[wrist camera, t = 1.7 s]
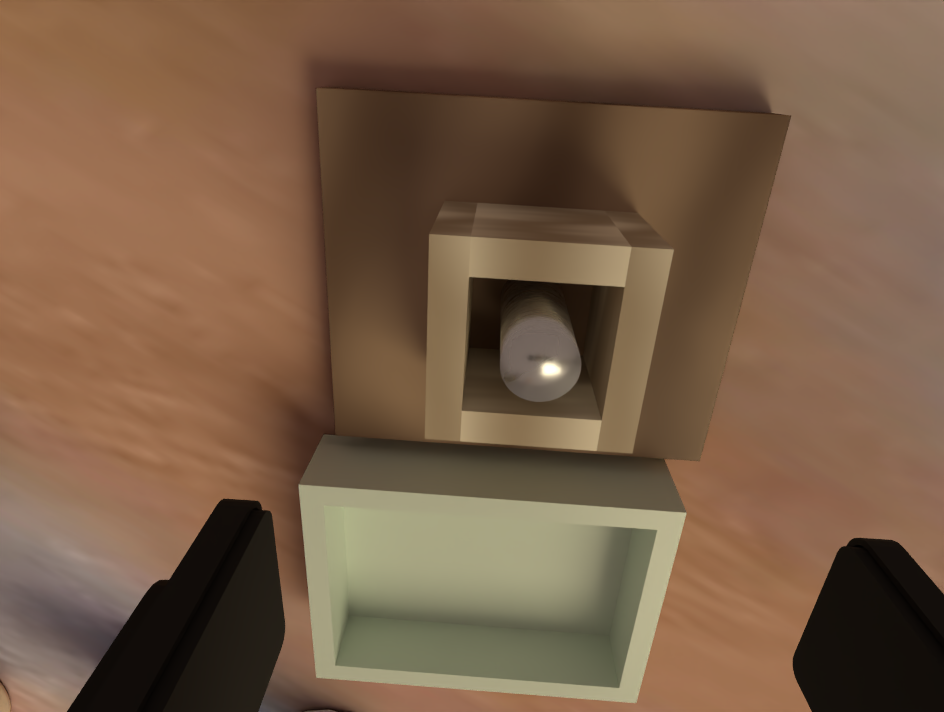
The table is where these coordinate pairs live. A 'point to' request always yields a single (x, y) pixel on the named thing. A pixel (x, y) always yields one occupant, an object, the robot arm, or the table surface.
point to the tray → (486, 565)
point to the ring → (546, 260)
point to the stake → (537, 341)
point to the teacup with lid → (4, 700)
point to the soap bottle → (321, 711)
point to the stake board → (544, 185)
